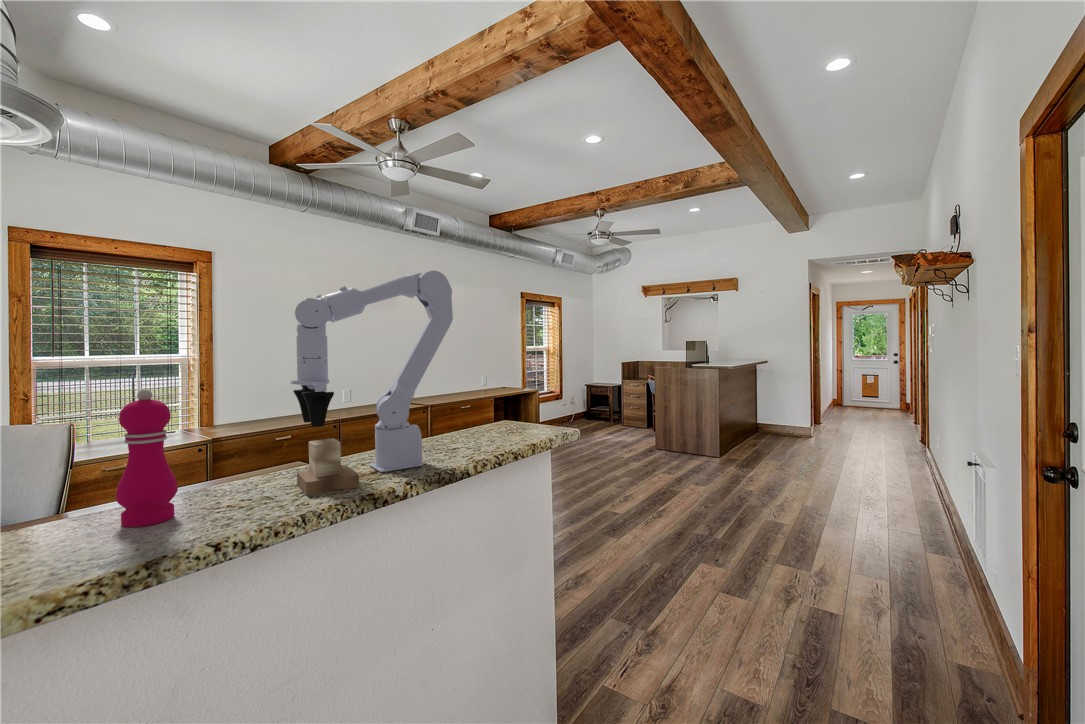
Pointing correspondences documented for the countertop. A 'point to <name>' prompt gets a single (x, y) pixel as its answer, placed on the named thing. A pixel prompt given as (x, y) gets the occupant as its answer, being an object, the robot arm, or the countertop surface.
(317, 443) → the ash block
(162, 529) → the countertop surface
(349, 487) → the walnut block
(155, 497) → the pepper mill
